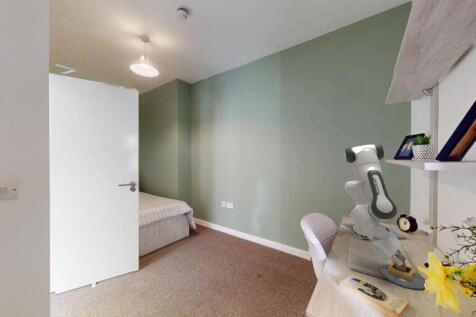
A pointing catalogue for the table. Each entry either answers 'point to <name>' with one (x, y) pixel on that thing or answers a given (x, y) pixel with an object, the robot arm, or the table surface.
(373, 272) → the table surface
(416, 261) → the table surface
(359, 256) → the table surface
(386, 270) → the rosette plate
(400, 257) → the walnut post
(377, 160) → the robot arm
